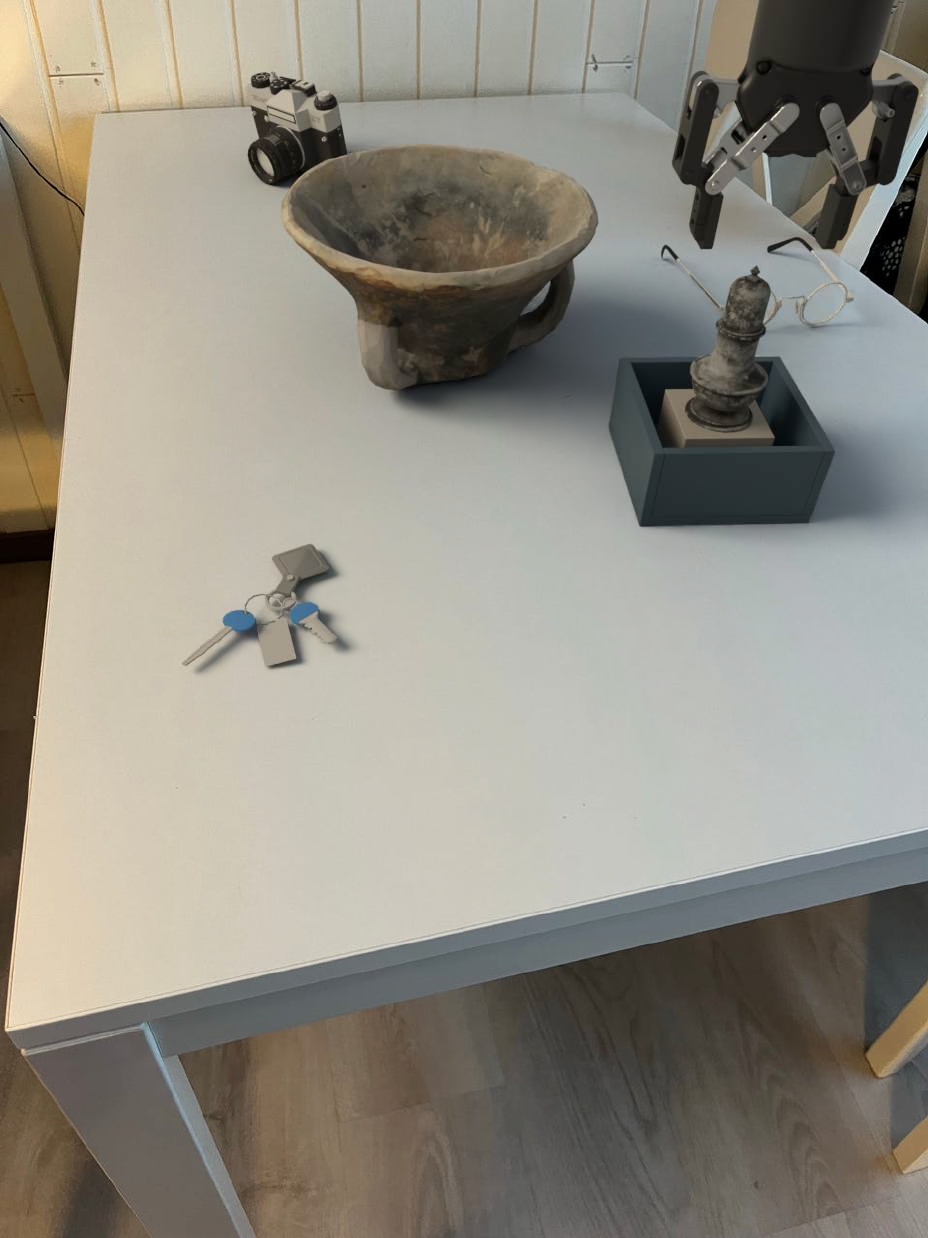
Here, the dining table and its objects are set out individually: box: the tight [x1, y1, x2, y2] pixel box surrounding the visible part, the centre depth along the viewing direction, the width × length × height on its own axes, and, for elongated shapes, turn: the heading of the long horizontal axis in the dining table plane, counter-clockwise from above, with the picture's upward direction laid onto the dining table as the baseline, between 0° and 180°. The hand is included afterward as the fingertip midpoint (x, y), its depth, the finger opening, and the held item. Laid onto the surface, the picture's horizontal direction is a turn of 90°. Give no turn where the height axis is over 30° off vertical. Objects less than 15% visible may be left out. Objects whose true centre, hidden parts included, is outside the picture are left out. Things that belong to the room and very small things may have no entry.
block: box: [657, 389, 775, 448], centre depth 77 cm, size 7×7×5 cm
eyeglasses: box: [660, 236, 855, 328], centre depth 101 cm, size 16×19×5 cm
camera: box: [245, 71, 349, 185], centre depth 119 cm, size 15×11×10 cm
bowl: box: [280, 143, 599, 391], centre depth 86 cm, size 27×26×15 cm
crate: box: [607, 355, 836, 527], centre depth 77 cm, size 14×14×7 cm
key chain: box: [181, 543, 338, 668], centre depth 65 cm, size 14×8×1 cm, turn 157°
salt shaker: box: [685, 265, 772, 432], centre depth 71 cm, size 6×6×12 cm
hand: (764, 244), depth 66 cm, fingers open, 8 cm apart
